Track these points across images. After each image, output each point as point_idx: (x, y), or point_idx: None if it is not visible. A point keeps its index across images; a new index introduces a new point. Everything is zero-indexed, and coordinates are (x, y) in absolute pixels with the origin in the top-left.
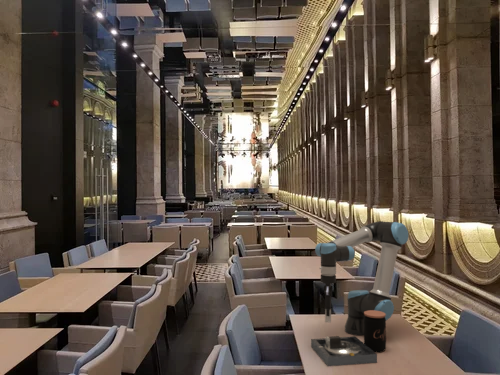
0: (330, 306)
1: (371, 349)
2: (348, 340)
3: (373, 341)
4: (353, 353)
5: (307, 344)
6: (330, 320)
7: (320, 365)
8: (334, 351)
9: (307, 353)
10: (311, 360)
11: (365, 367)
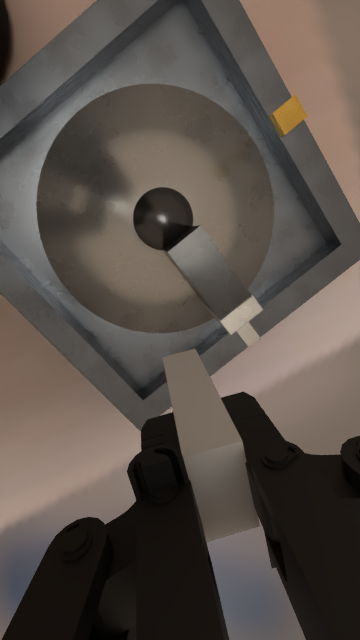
0: (192, 503)
1: (7, 29)
2: None
3: None
4: (234, 119)
5: (115, 434)
6: (200, 360)
7: (342, 282)
8: (258, 245)
9: (230, 387)
10: (302, 339)
11: (283, 40)
